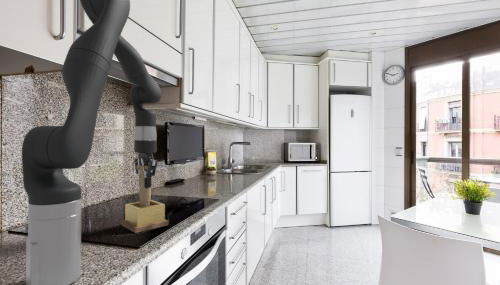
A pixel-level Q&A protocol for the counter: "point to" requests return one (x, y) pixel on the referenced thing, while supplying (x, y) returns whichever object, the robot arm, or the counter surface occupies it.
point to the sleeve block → (144, 216)
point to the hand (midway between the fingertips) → (145, 186)
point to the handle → (143, 189)
